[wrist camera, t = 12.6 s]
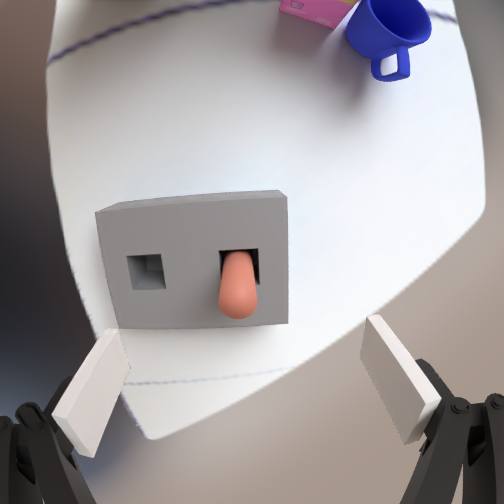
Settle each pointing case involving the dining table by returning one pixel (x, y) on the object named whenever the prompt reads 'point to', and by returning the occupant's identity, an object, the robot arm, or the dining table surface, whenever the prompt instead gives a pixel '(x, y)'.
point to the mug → (388, 33)
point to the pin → (237, 285)
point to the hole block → (193, 257)
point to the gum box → (319, 10)
